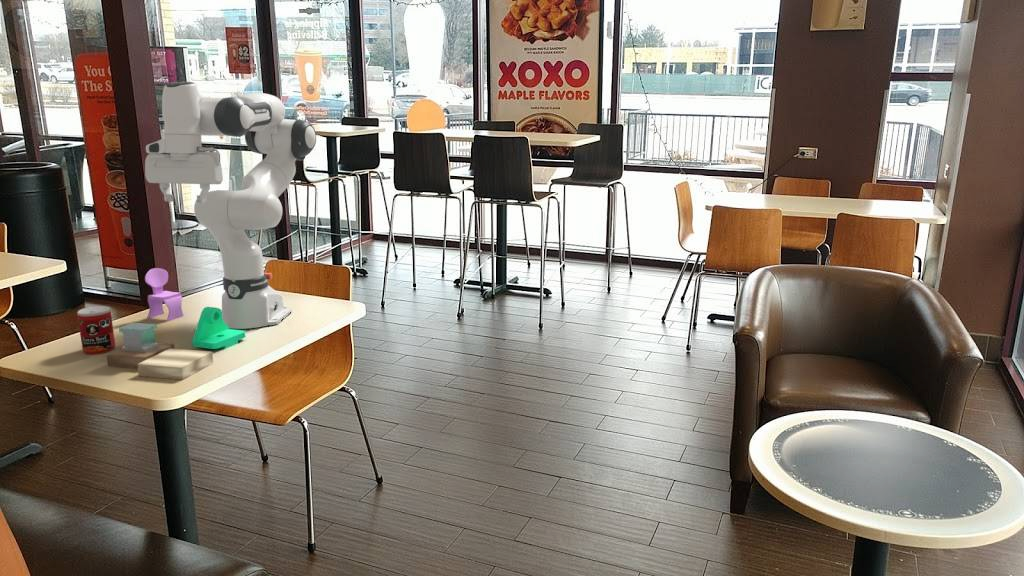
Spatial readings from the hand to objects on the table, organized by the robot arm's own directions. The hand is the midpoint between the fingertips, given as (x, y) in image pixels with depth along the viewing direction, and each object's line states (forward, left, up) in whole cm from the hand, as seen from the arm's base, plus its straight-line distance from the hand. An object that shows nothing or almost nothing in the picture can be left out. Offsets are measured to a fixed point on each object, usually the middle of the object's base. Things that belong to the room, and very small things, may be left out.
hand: (185, 202), depth 196 cm
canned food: (+8, -25, -39) cm, 47 cm away
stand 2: (+17, +5, -39) cm, 43 cm away
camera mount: (-3, +4, -39) cm, 40 cm away
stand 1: (+13, -8, -39) cm, 42 cm away
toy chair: (-23, -28, -39) cm, 53 cm away
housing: (+13, -8, -36) cm, 39 cm away
